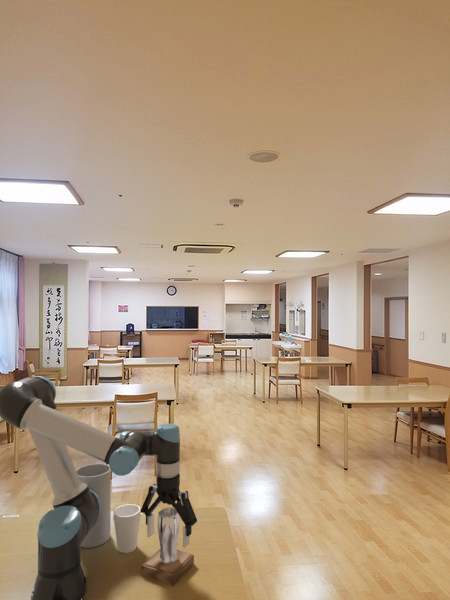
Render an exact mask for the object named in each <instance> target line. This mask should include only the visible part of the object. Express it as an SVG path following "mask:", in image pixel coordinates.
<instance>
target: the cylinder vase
mask: <svg viewBox="0 0 450 600" xmlns="http://www.w3.org/2000/svg"><path fill="white" fill-rule="evenodd" d="M76 471H77V474H78V476H79V479H80V481H81V482H82V483H85V484H87V485H88V488H89V490H91V491H92V492H95V493H96V494H97V495H98V497H99V499H100V502H101V512H100V515H99V517H98V520H97V522H96V524H95V525H94V526H93V527H92V528H91V530H90V531H89V533H88V534H87V535H86V537H85V538H84V540H83V541H82V543H81V548H83V549H87V548H88V549H89V548H90V549H91V548H97V547H98V546H102V545H104V544H105V543H106V542H107V541H108V540H109V539H110V537H111V514H112V513H111V511H112V510H111V504H112V503H111V500H112V499H111V494H112V493H111V491H112V490H111V489H112V487H111V485H112V484H111V482H112V481H111V475H112V474H111V473H112V470H111V469H110V467H109V464H106V463H91V464H86V465H83V466H80V467H79V468H77V469H76Z"/></svg>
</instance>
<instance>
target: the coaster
mask: <svg viewBox="0 0 450 600" xmlns="http://www.w3.org/2000/svg"><path fill="white" fill-rule="evenodd" d="M177 554H178V560H177V561H176V562H175V563H173V564H170V565H164V564H162V563H160V561H159V557H160V548H159V549H158V550H157V551H156V552H154V554H152V556H151V557H149V559H147V560H146V561H145V562H144V563H143V564H142V565H141V576H144V577H145V578H149V579H152V580H154V581H157V582H160V583H163V584H166V585H168V586H169V585H170V586H172V587H175V586H176V584H177V583H178V582H179V581H180V580H181V579H182V578H183V577H184V576H185V575H186V573H187V572H188V571H189V570H190V569H191V568H192V567H193V566H194V565H195V554H193V553H189V552H186V551H182V550H178V549H177Z"/></svg>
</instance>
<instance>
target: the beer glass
mask: <svg viewBox="0 0 450 600" xmlns="http://www.w3.org/2000/svg"><path fill="white" fill-rule="evenodd" d="M157 515H158V516H157V535H158V541H159V547H160V548H159V549H160V557H159V561H160V563H162V564H164V565H170V564H173V563H175V562H176V561H177V560H178V554H177V550H178V549H177V548H178V546H177V545H178V539H179V534H180V516H179V514H178V512H177V511H176V509H175V508H174V507H173V506H172V507H170V506H169V507H164V508H162V509H161V508H160V510H159V511H158V513H157Z"/></svg>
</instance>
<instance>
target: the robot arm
mask: <svg viewBox="0 0 450 600" xmlns="http://www.w3.org/2000/svg"><path fill="white" fill-rule="evenodd" d="M56 390H57V388H56V386H55V384H54V383H53V382H52V381H51V380H50V379H49V378H47V377H45V376H43V375H31V376H28V377H25V378H23V379H20V380H16V381H12V382H9V383H8V384H6V385H4V386H3V387H1V388H0V418H1V419H2V420H3V421H4V422H6V423H7V424H9V425H11V426H13V427H15V428H18V429H20V430H22V431H25V430H28V431H29V434H30V437H31V439H32V442H33V444H34V446H35V449H36V452H37V455H38V457H39V459H40V462H41V464H42V468H43V470H44V472H45V476H46V477H47V480H48V482H49V485H50V487H51V490H52V493H53V495H54V498H53V501H52V502H51V505H52V507H53V509H50V510H49V511H47V512H46V513H45V514H44V515H43V516H42V517H41V519H40V520H39V523H38V530H37V574H36V578H35V581H34V586H33V588H32V590H31V596H30V600H81V599H82V598H83V597H84V596H86V595H85V594H87V591H88V590H87V588H88V587H87V585H88V583H87V578H86V576H85V572H84V571H83V567H82V563H81V561H82V560H81V552H82V551H81V549H82V547H81V543H82V541H83V540H84V538H85V537H86V535H87V534H88V533H89V531H90V530H91V528H92V527H93V526H94V525H95V524H96V522H97V520H98V517H99V515H100V512H101V502H100V499H99V497H98V495H97V494H96V493H95V492H92V491H91V490H89V488H88V485H87V484H85V483H82V482H81V481H80V479H79V476H78V474H77V471H76V470H77V469H76V466H75V464H74V461H73V459H72V457H71V453H70V451H69V449H68V447H70V448H72V449H74V450H77V451H78V452H81V453H83V454H85V455H88V456H89V457H92V458H94V459H96V460H98V461H100V462H101V461H102V462H103V463H104V464H106V465H108V466H109V467H110V469H111V473H113V474H115V476H119V477H120V476H121V477H123V476H127V475H129V474H131V473H132V471H134V470H135V469H136V467H137V466H138V464H139V462H140V461H141V460H142V458H143V457H144V456H145V457H146V456H149V457H150V456H152V457H153V456H155V457H156V462H155V464H156V466H155V467H156V468H155V470H156V471H155V472H156V483H153V484H151V485H150V486H149V487H148V491H147V495H146V497H145V499H144V501H143V503H142V506H141V507H140V509H141V510H140V511H141V513H142V514H144V515H145V525H146V526H147V528H146V529H147V531H146V532H147V535H146V536H147V537H148V538H150V537H152V536H153V535H154V534H155V513H154V511H155V509H156V508H157V507H158V506H159V504H160V503H162V504H167V505H170V506H172V508H175V509H176V511H177V512H178V514H179V518H180V519H181V521H182V522H183V524H184V525H182V548H184V549H185V548H186V547H188V545H189V544H190V537H191V535H192V531H193V530H192V527H193V526H195V525H196V523H197V522H198V519H197V516H196V513H195V511H194V508H193V506H192V503H191V501H190V499H189V498H190V497H189V491H188V490H185V491H180V485H181V484H180V483H181V479H180V478H181V474H180V471H181V470H180V468H181V466H180V463H181V455H180V454H181V453H180V452H181V450H180V449H181V438H180V437H181V435H180V428H179V427H180V426H178V425H177V424H175V423H163V424H159V425H157V427H156V429H155V430H154V431H153V430H152V431H150V430H149V431H145V430H139V431H137V430H125V431H122V432H121V433H120V434H119V437H116V436H114V435H112V434H110V433H108V432H105V431H103V430H101V429H99V428H97V427H94V426H92V425H90V424H87V423H85V422H83V421H81V420H78V419H76V418H73V417H71V416H70V415H68V414H65V413H63V412H60V411H58V407H57V405H56V402H55V399H56V397H57V396H56V395H57V391H56ZM155 494H157V497H156V499H155V500H154V502H153V503H152V500H153V498H154V496H155ZM151 503H152V504H151ZM150 504H151V505H150ZM84 598H85V597H84ZM84 598H83V599H84ZM83 599H82V600H83Z"/></svg>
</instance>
